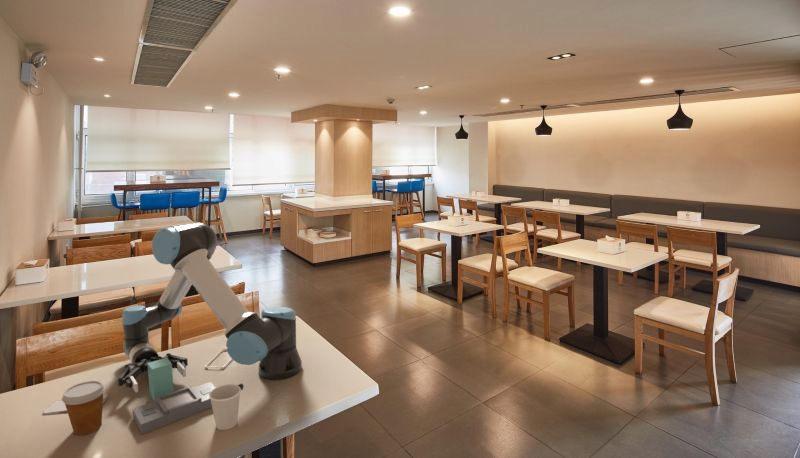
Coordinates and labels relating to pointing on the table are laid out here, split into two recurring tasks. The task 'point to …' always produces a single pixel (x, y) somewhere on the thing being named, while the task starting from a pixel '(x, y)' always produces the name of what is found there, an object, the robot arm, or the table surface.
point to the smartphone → (62, 406)
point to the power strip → (173, 407)
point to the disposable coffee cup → (84, 406)
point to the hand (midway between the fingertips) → (161, 380)
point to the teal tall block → (160, 378)
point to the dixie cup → (225, 405)
